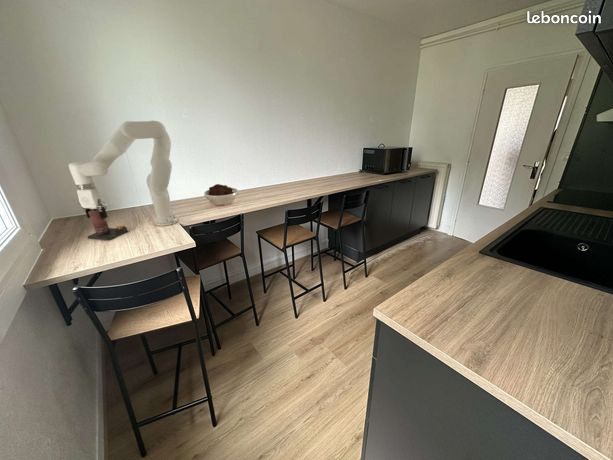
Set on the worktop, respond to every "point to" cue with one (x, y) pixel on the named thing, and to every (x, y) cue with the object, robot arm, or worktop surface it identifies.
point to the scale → (109, 234)
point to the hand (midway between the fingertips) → (97, 217)
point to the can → (98, 222)
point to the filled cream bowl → (221, 194)
